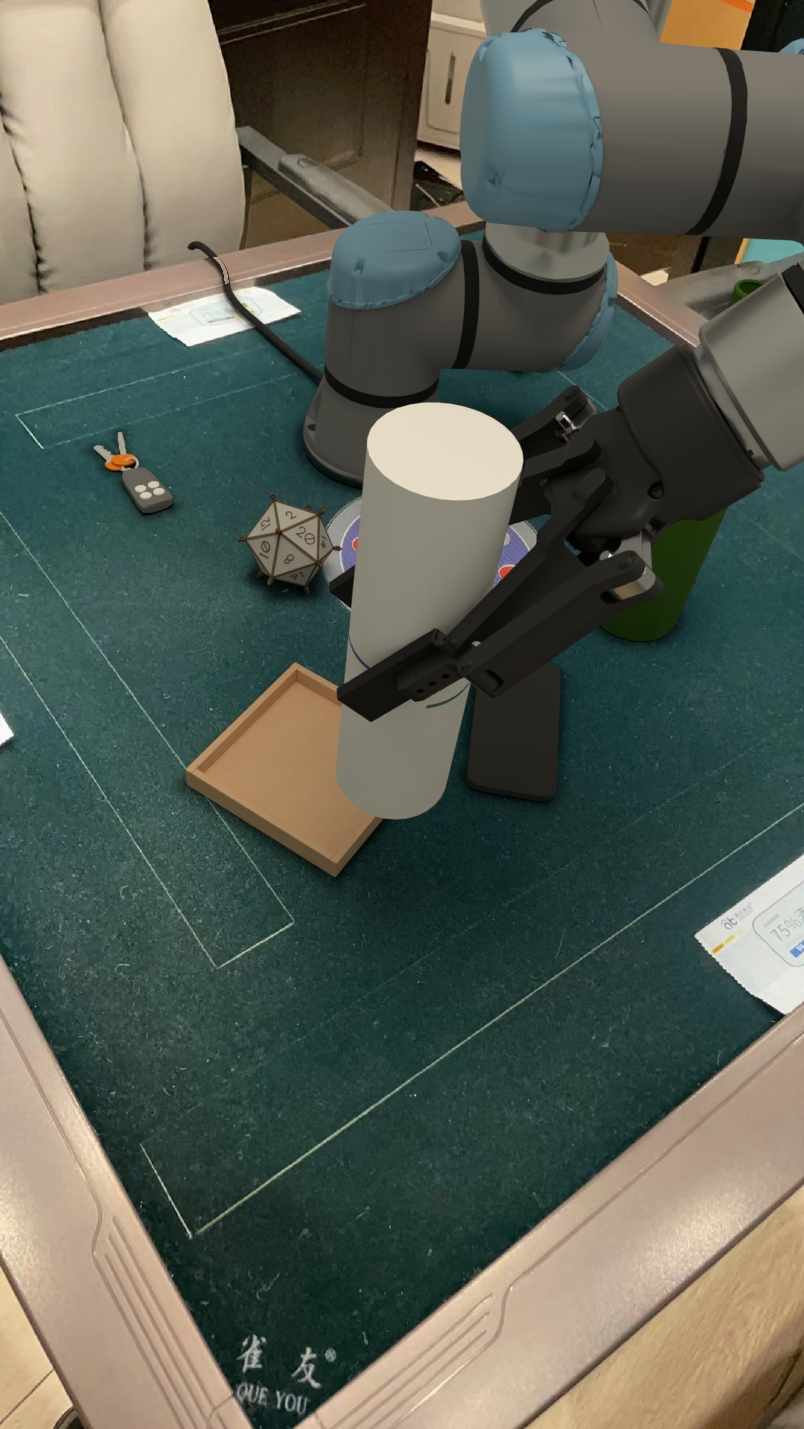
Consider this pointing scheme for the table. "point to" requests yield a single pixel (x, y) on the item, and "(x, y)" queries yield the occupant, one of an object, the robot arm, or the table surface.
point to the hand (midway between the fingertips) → (349, 650)
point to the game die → (289, 543)
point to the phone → (517, 738)
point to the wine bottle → (674, 558)
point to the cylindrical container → (420, 587)
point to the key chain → (137, 480)
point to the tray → (287, 771)
